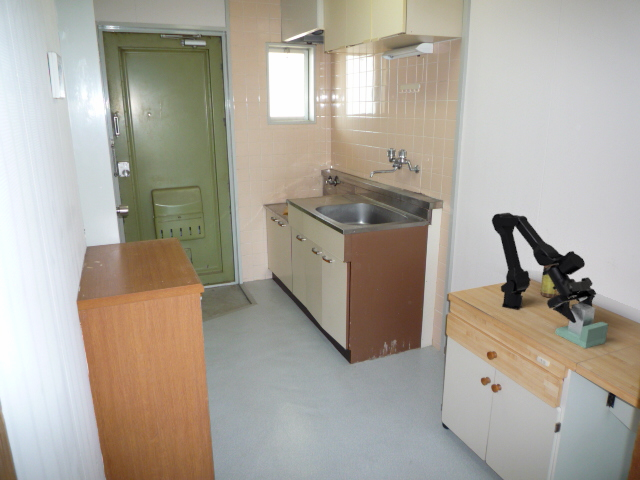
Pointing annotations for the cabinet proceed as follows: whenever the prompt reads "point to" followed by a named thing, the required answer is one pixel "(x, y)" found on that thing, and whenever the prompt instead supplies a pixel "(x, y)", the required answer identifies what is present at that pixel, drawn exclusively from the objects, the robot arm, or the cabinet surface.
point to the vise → (586, 334)
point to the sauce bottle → (547, 285)
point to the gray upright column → (581, 317)
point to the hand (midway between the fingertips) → (584, 320)
